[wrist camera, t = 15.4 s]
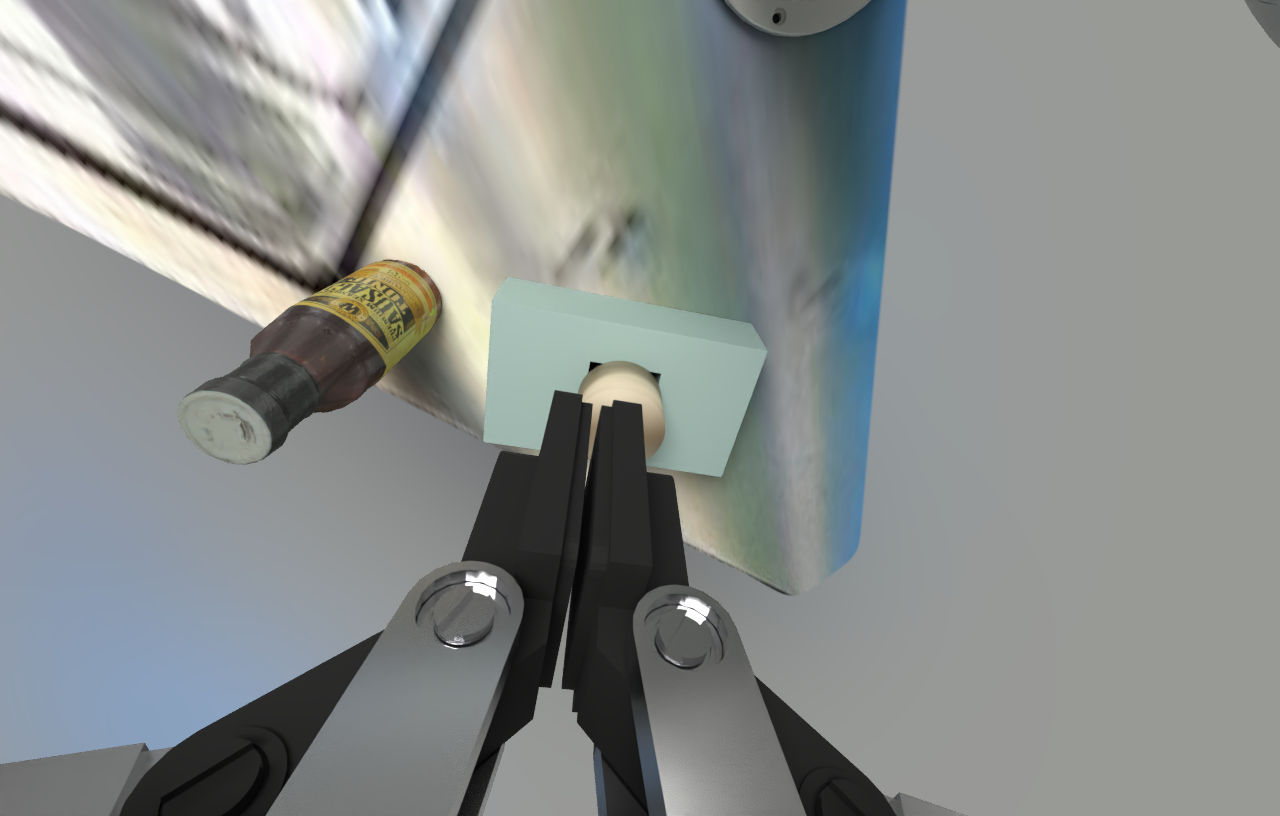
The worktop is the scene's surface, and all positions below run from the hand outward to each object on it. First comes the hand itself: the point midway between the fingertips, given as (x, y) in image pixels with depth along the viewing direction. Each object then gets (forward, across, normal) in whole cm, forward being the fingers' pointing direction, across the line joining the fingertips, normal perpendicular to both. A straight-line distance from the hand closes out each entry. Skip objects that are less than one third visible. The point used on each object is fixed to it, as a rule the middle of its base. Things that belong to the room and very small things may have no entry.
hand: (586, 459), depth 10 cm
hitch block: (+31, -3, +13) cm, 34 cm away
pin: (+31, -3, +13) cm, 33 cm away
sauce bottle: (+31, +15, +10) cm, 36 cm away
